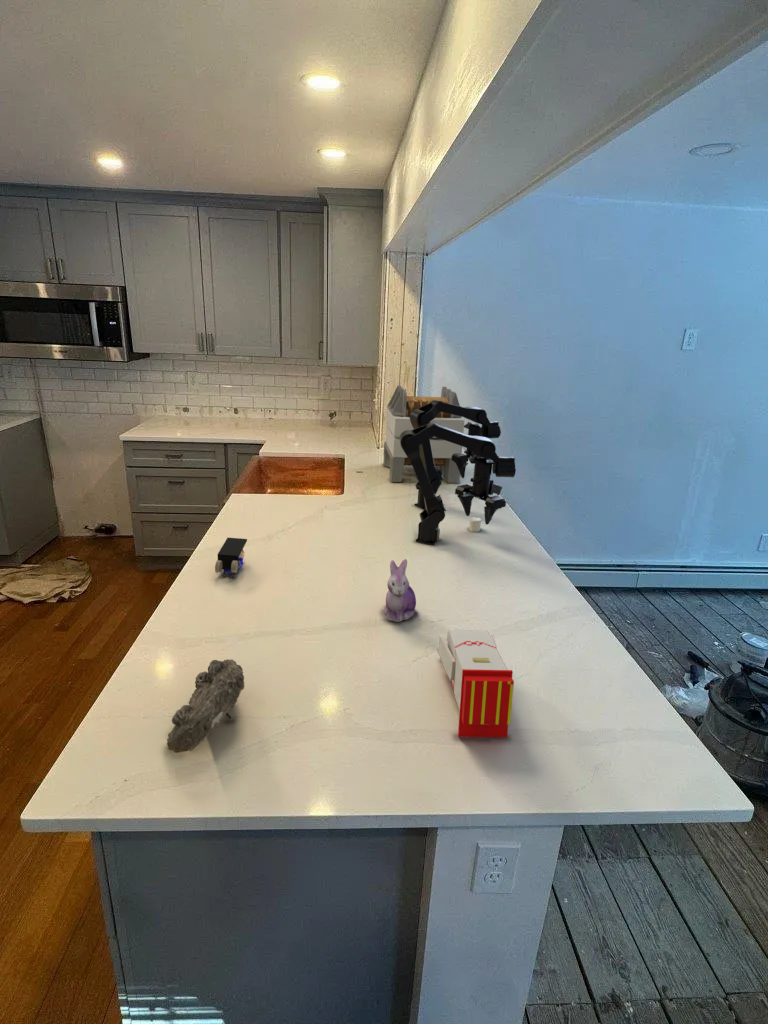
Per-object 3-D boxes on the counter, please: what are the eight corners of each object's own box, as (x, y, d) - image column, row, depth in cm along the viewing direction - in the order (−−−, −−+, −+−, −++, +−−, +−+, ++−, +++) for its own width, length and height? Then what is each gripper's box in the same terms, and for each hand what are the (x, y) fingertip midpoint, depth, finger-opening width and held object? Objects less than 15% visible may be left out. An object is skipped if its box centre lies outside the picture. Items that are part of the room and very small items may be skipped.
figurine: (392, 627, 141) (395, 572, 136) (374, 608, 149) (376, 556, 144) (425, 619, 145) (429, 566, 140) (405, 601, 154) (408, 550, 149)
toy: (488, 613, 130) (523, 677, 101) (484, 667, 133) (517, 744, 104) (435, 612, 130) (455, 676, 101) (432, 666, 133) (451, 743, 103)
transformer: (382, 463, 289) (386, 382, 275) (445, 464, 293) (451, 384, 279) (390, 482, 257) (394, 392, 243) (460, 483, 261) (468, 394, 247)
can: (482, 529, 207) (483, 519, 206) (476, 532, 204) (477, 522, 203) (473, 526, 210) (474, 516, 208) (466, 529, 207) (467, 519, 205)
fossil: (192, 660, 117) (244, 628, 112) (224, 691, 120) (276, 661, 115) (142, 746, 98) (202, 712, 93) (182, 779, 101) (242, 748, 96)
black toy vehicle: (238, 584, 162) (249, 557, 175) (236, 562, 158) (247, 536, 172) (215, 584, 161) (227, 556, 175) (212, 561, 158) (225, 535, 171)
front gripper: (520, 480, 186) (514, 524, 191) (479, 466, 200) (474, 508, 205) (496, 484, 179) (491, 530, 185) (456, 470, 193) (452, 513, 199)
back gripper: (471, 445, 216) (467, 484, 222) (505, 441, 227) (501, 478, 232) (452, 439, 225) (448, 477, 230) (486, 435, 235) (482, 471, 240)
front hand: (477, 520), depth 193 cm, fingers open, 9 cm apart
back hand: (471, 476), depth 233 cm, fingers open, 9 cm apart
